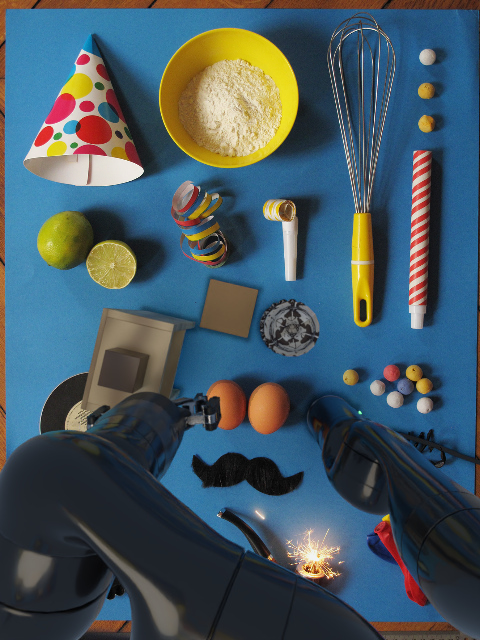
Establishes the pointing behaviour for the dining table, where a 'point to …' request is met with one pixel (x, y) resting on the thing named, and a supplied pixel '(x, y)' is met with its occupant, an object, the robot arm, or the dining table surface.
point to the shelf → (141, 336)
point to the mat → (229, 308)
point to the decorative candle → (289, 328)
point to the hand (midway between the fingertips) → (168, 403)
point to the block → (123, 370)
